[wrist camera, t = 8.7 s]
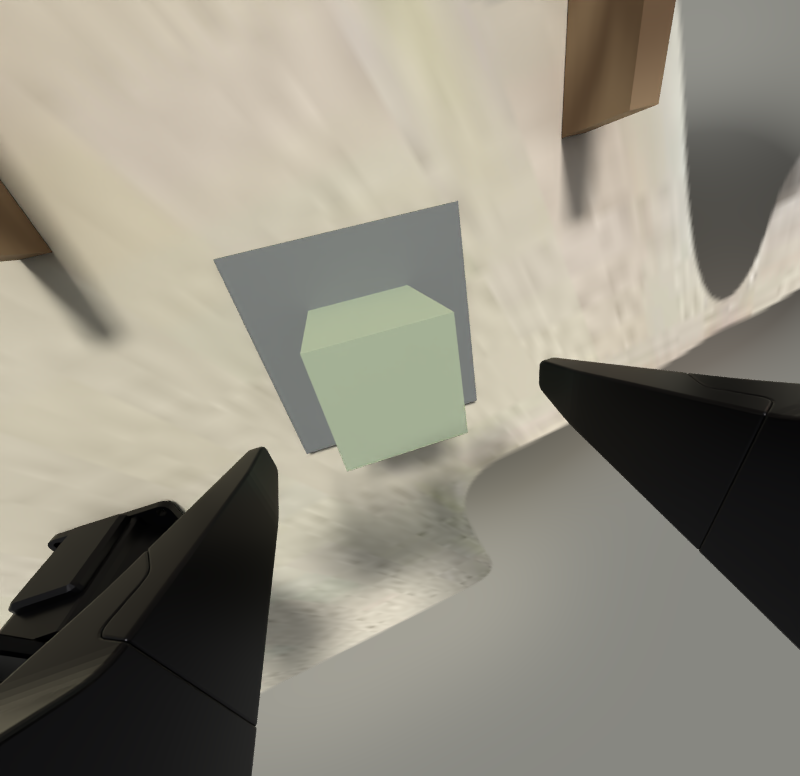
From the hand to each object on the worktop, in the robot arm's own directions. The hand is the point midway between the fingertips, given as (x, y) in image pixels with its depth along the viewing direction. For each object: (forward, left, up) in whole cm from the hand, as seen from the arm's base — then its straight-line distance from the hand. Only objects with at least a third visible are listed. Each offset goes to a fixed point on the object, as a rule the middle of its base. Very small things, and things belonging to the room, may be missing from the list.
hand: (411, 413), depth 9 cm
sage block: (0, 0, -7) cm, 7 cm away
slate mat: (0, 0, -8) cm, 8 cm away
